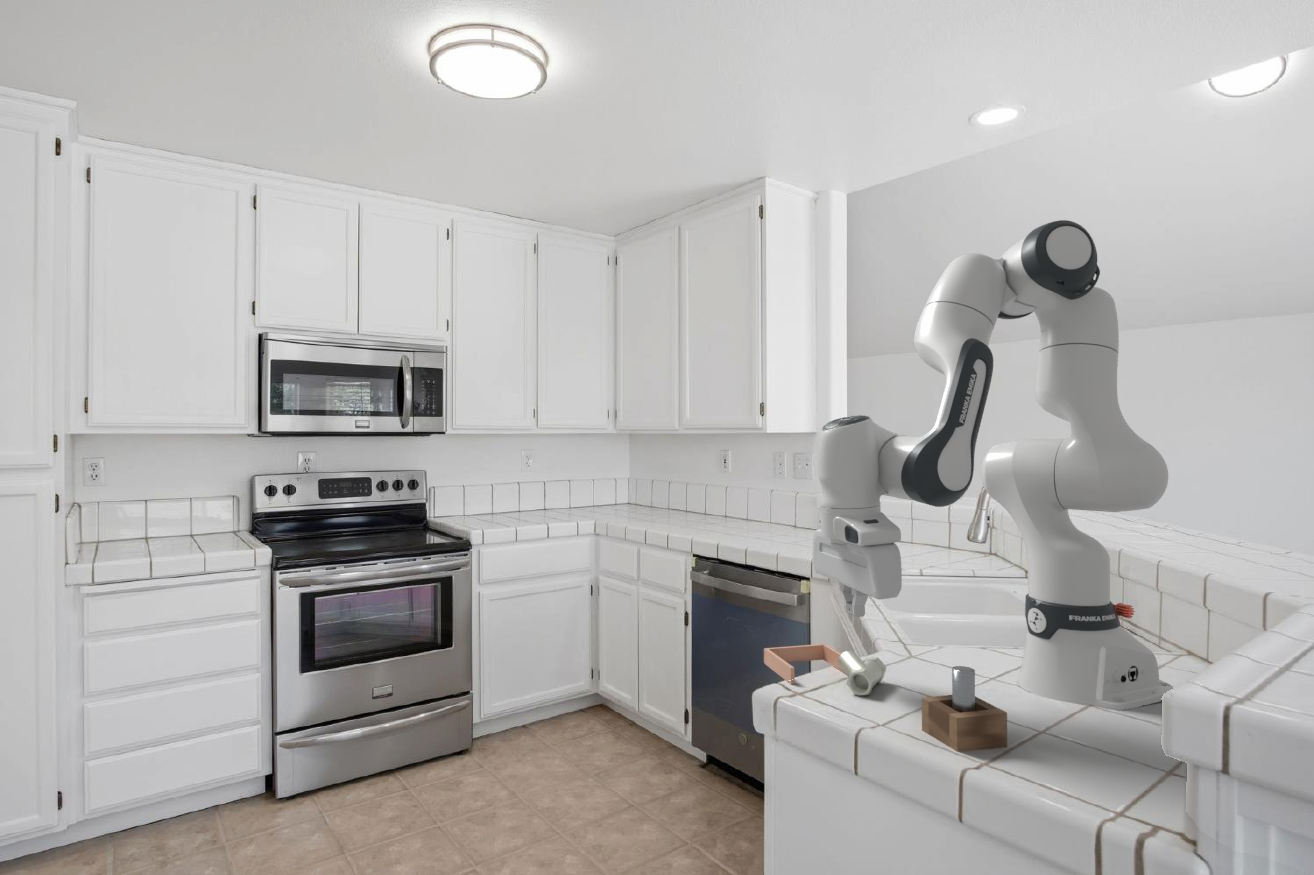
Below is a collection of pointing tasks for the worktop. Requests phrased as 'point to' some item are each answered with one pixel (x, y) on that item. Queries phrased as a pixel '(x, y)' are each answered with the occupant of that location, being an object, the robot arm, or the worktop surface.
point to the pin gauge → (963, 689)
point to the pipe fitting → (861, 672)
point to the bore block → (964, 724)
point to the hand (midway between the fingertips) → (854, 614)
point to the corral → (798, 658)
